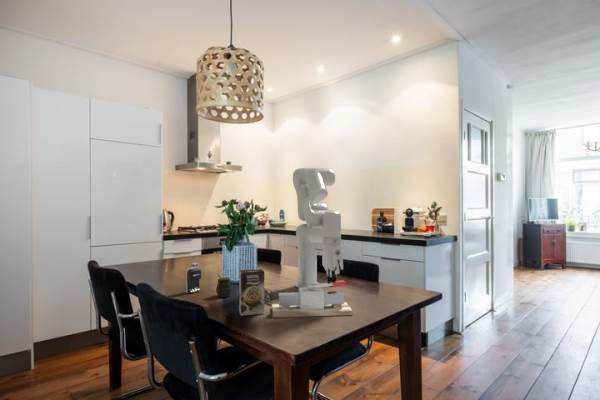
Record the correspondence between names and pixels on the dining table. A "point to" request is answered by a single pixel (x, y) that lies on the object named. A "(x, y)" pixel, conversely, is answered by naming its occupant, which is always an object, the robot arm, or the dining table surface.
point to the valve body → (311, 298)
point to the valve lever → (328, 284)
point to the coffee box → (251, 292)
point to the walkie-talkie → (269, 295)
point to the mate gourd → (224, 287)
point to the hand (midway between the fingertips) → (331, 286)
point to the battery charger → (193, 280)
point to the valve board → (311, 311)
